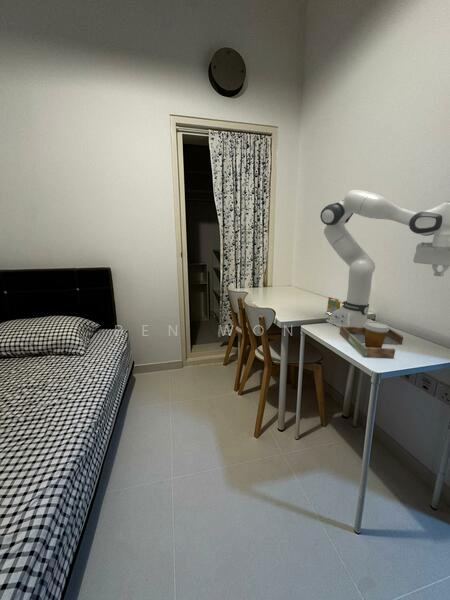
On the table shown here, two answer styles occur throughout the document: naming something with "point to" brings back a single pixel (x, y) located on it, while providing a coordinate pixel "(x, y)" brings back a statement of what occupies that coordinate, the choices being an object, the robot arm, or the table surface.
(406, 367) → the table surface
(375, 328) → the disposable coffee cup
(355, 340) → the walnut corridor
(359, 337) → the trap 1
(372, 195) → the robot arm
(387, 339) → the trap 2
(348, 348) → the table surface
